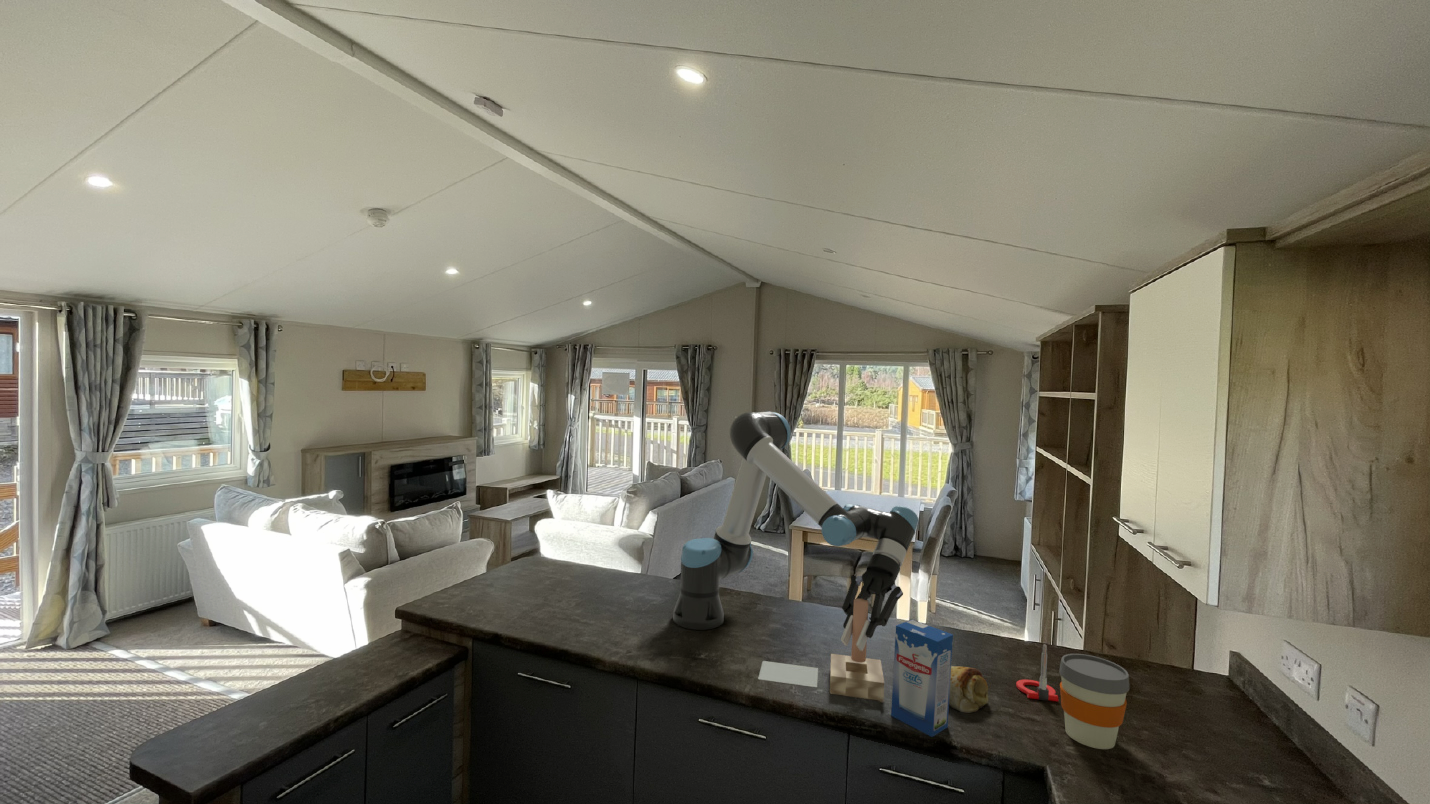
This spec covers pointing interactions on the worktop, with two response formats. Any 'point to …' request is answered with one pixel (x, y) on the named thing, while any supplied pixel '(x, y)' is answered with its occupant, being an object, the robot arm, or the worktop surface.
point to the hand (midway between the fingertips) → (851, 645)
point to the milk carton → (922, 676)
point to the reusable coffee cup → (1093, 699)
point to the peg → (859, 628)
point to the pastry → (967, 689)
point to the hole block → (856, 678)
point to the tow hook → (1039, 683)
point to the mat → (789, 674)
